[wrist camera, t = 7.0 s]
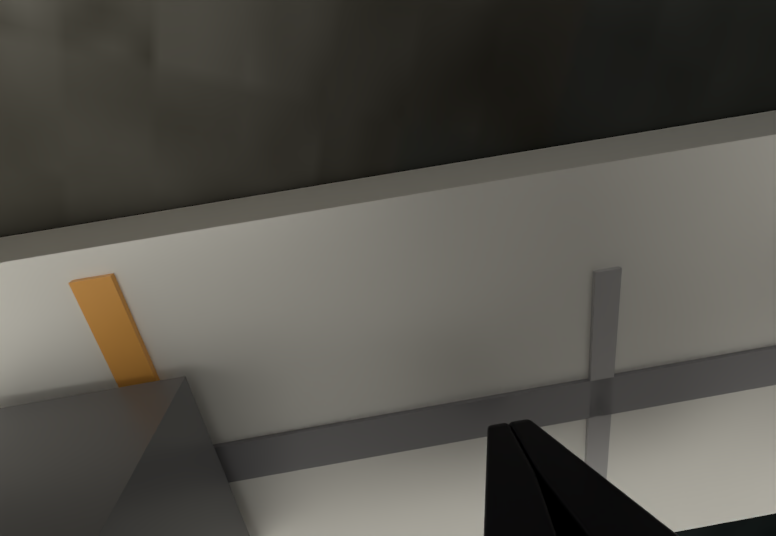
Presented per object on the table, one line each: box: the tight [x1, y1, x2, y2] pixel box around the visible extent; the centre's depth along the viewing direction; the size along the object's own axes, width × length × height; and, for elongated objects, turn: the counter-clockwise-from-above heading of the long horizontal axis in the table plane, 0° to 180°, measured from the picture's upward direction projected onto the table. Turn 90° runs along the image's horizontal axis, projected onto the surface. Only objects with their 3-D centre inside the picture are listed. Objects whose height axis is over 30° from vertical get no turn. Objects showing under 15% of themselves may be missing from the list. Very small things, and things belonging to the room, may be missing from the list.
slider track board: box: [0, 110, 776, 536], centre depth 10 cm, size 20×10×2 cm, turn 98°
